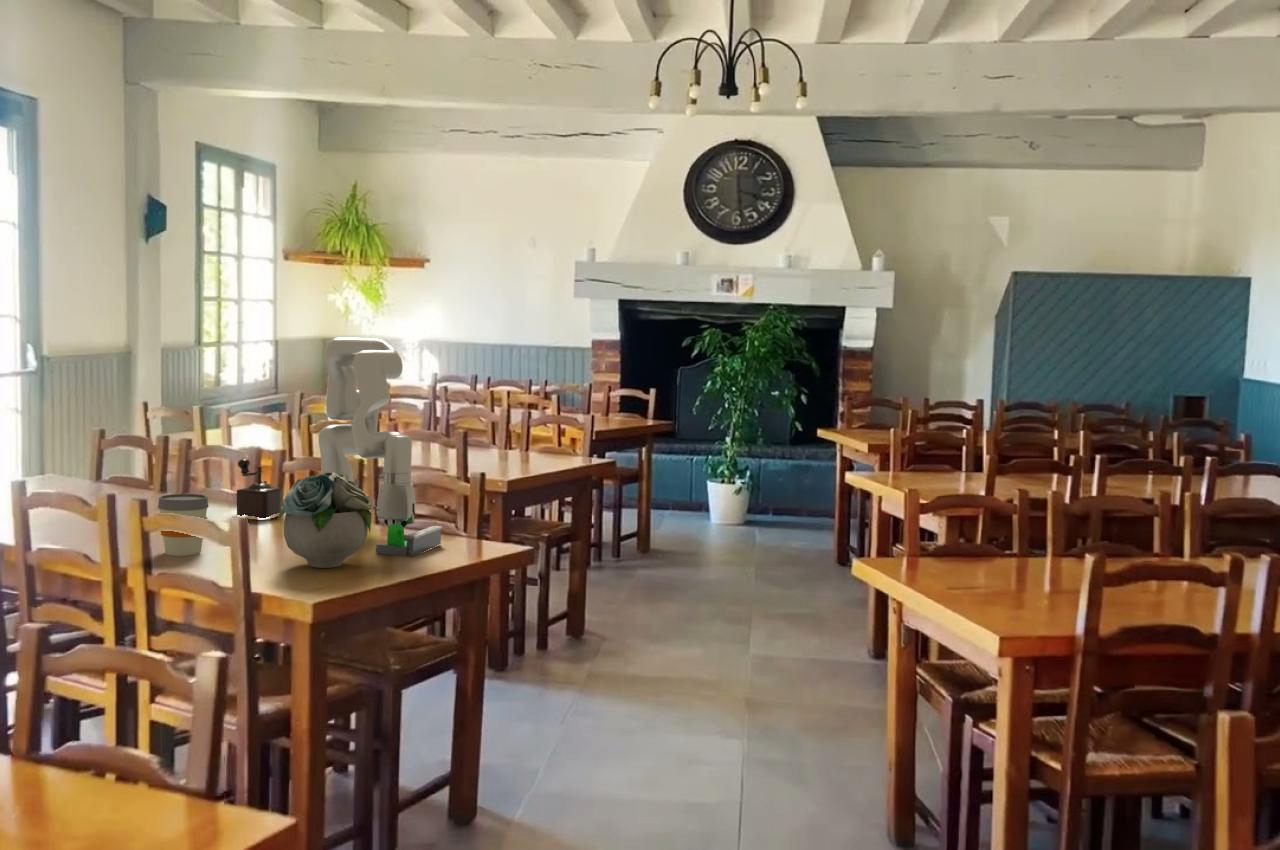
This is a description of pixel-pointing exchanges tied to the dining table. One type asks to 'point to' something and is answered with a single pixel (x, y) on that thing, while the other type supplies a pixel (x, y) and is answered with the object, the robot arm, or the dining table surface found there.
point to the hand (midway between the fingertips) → (395, 543)
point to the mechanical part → (396, 535)
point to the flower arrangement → (326, 519)
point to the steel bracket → (414, 543)
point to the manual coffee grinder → (257, 496)
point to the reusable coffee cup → (185, 506)
